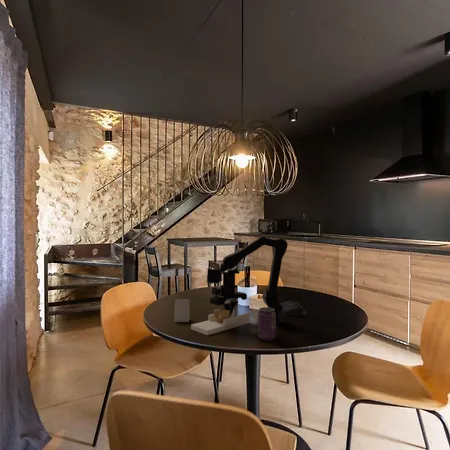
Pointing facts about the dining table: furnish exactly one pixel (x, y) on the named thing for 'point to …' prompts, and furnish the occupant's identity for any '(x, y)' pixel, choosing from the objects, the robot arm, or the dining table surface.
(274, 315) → the beverage can
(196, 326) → the trap channel
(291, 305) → the dark slate chunk
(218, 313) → the oak block
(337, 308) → the dining table surface
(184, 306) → the grey box
